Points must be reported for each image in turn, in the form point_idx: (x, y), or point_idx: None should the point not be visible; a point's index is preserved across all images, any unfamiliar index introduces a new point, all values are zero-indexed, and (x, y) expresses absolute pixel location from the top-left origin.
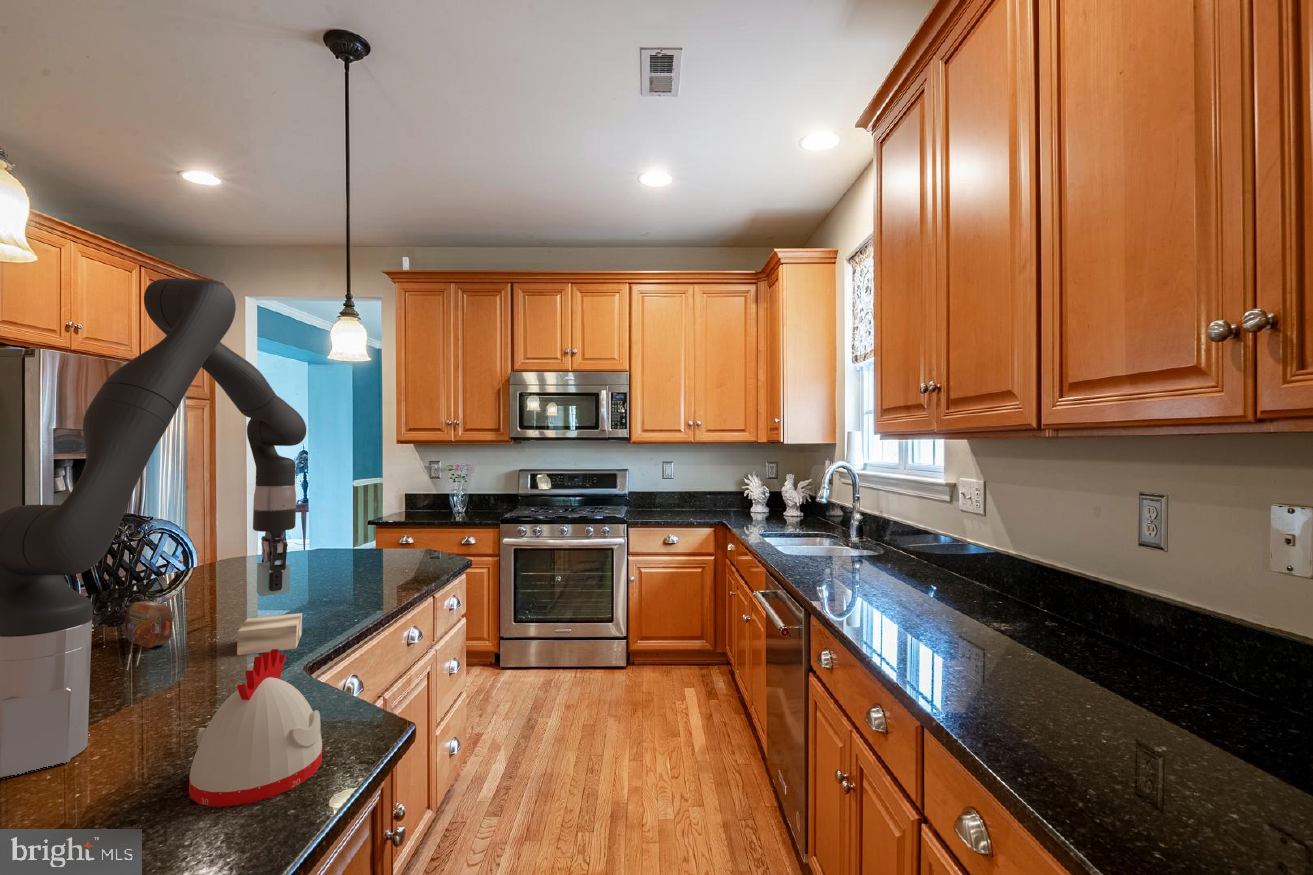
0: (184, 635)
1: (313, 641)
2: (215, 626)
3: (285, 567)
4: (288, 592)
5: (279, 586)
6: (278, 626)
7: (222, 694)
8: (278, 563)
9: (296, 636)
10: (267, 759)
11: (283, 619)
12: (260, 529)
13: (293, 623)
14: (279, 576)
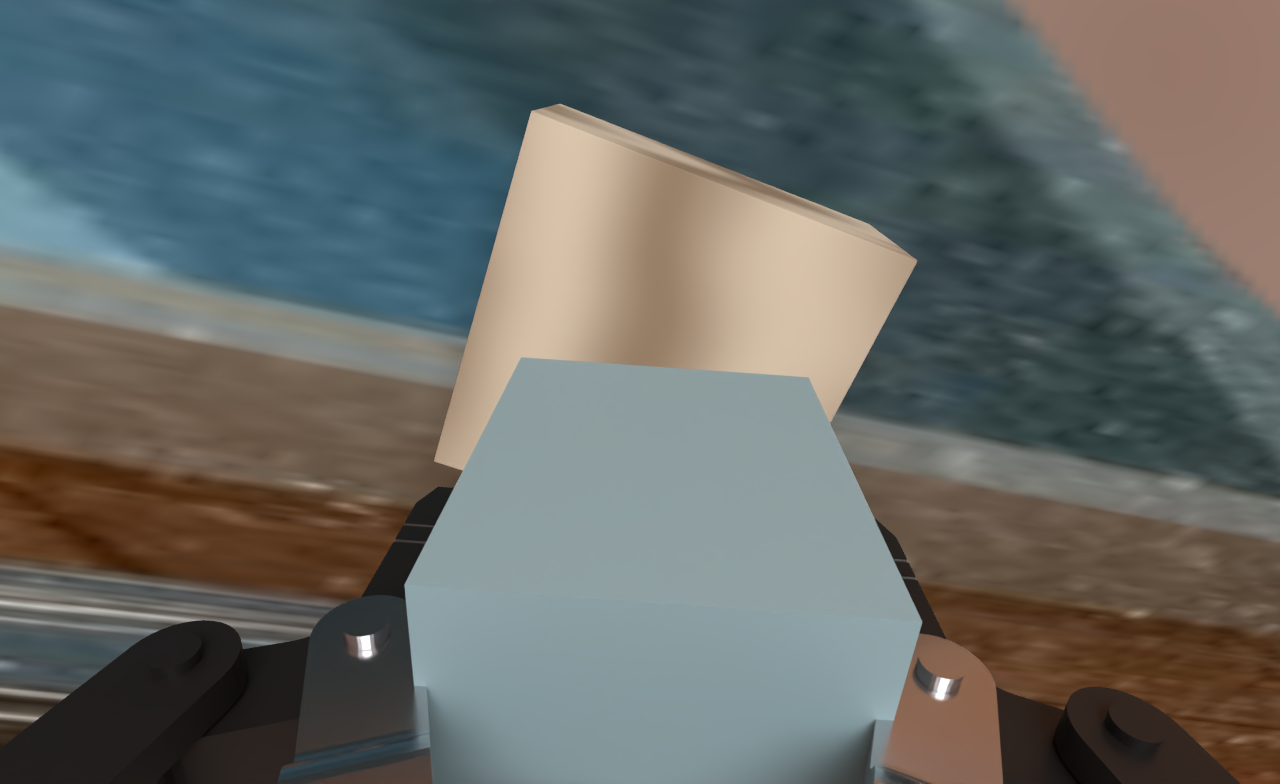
0: (181, 589)
1: (801, 87)
2: (51, 459)
3: (1183, 734)
4: (804, 383)
5: (887, 538)
6: (838, 366)
7: (1260, 618)
8: (695, 732)
9: (881, 237)
10: None
11: (652, 289)
12: None
13: (837, 263)
14: (931, 633)
